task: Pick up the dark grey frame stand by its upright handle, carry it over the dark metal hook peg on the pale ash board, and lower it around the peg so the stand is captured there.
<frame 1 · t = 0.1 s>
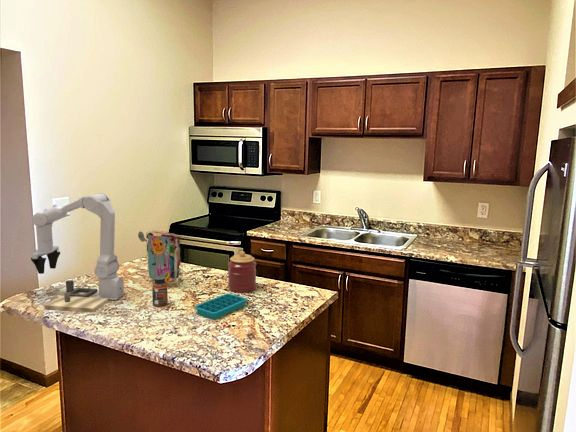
hand: (47, 270, 181), 10 cm above the countertop, tool pointing down, fingers open, 7 cm apart
supplement bottle: (160, 304, 173), on the countertop
canister: (242, 288, 194), on the countertop
dark grey frame stand: (81, 294, 181), on the countertop
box: (158, 282, 200), on the countertop
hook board: (77, 305, 169), on the countertop
ice cube tray: (221, 310, 169), on the countertop
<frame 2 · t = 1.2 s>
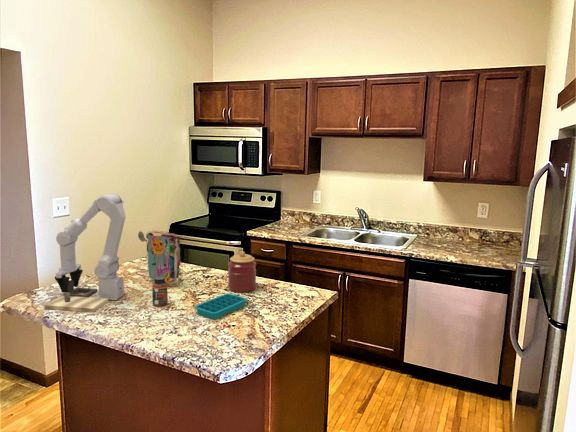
hand: (69, 289, 181), 2 cm above the countertop, tool pointing down, fingers open, 7 cm apart
nothing on the countertop moved.
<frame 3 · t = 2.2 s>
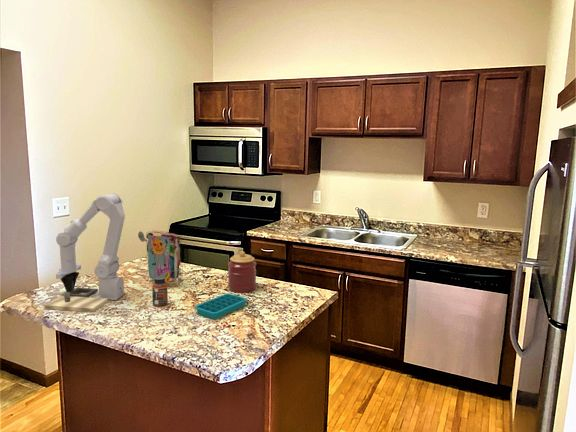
hand: (70, 290, 181), 2 cm above the countertop, tool pointing down, fingers closed on dark grey frame stand
dark grey frame stand: (81, 294, 181), on the countertop, touching gripper
everything else where it was.
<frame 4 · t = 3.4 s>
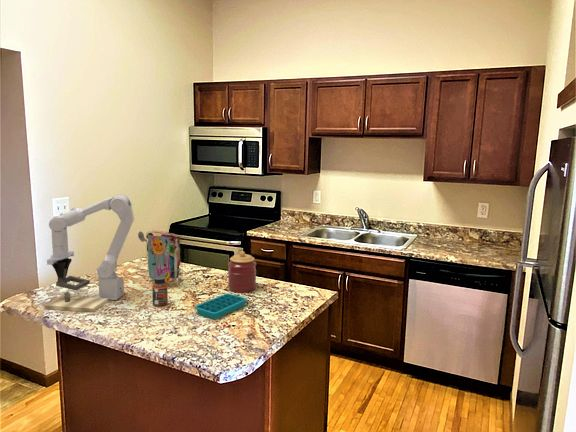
hand: (62, 276, 175), 9 cm above the countertop, tool pointing down, fingers closed on dark grey frame stand
dark grey frame stand: (73, 284, 175), point 6 cm above the countertop, tilted 9°, touching gripper
everything else where it was.
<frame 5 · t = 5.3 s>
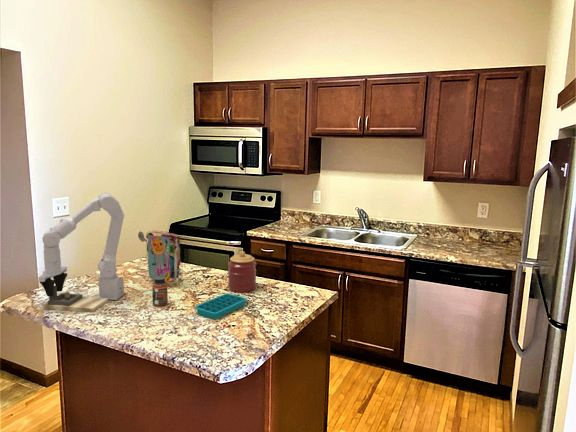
hand: (54, 293, 169), 4 cm above the countertop, tool pointing down, fingers open, 5 cm apart
dark grey frame stand: (65, 301, 169), point 1 cm above the countertop, touching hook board
everything else where it was.
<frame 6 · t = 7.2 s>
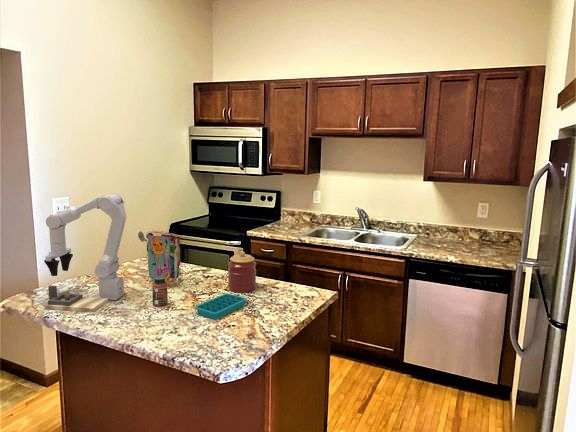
hand: (59, 273, 180), 9 cm above the countertop, tool pointing down, fingers open, 7 cm apart
nothing on the countertop moved.
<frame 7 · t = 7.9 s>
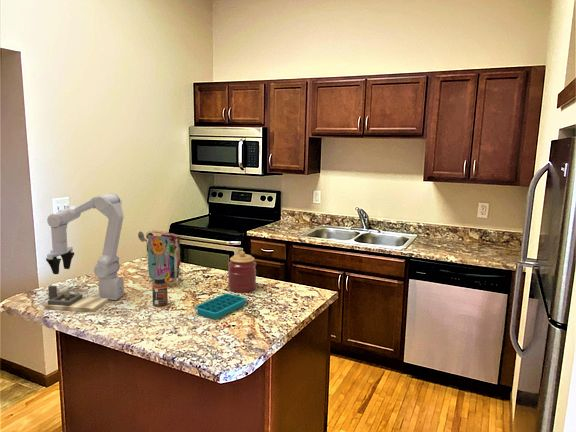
hand: (61, 271, 182), 9 cm above the countertop, tool pointing down, fingers open, 7 cm apart
nothing on the countertop moved.
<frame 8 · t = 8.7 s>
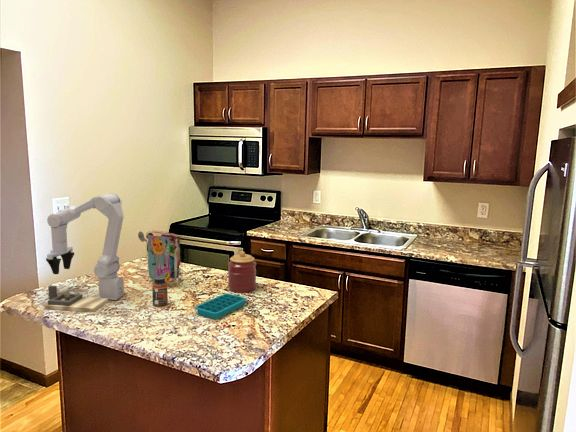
hand: (61, 271, 182), 9 cm above the countertop, tool pointing down, fingers open, 7 cm apart
nothing on the countertop moved.
at the end: dark grey frame stand 0.8 cm from the target spot on the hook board, point 1.5 cm above the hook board's base; dark grey frame stand tilted 0°; the gripper is holding nothing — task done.
